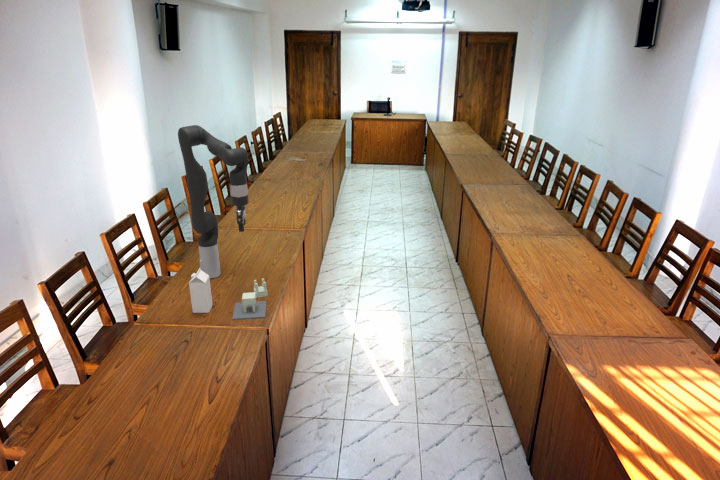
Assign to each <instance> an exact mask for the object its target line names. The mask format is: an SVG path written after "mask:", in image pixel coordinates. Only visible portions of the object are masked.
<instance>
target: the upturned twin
mask: <svg viewBox="0 0 720 480" xmlns="http://www.w3.org/2000/svg"><path fill="white" fill-rule="evenodd" d="M253 292H256V299H258V298H264V297H268V296H269V293H268V289H267V282H266V281H265V278H261V285H260V286H259V284H258V283H257V279H253Z"/></svg>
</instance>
